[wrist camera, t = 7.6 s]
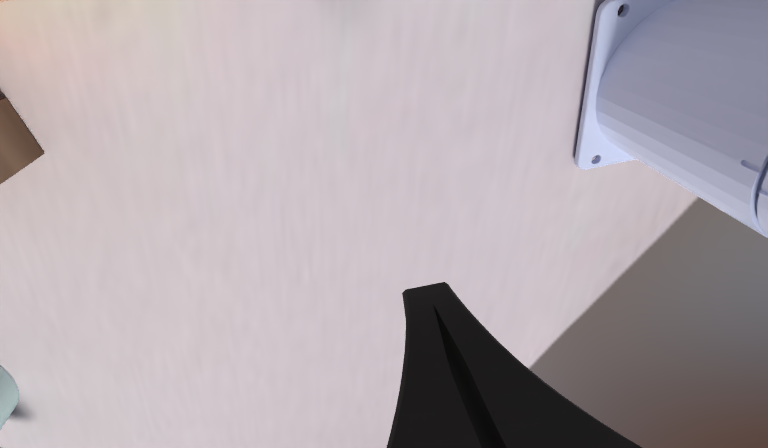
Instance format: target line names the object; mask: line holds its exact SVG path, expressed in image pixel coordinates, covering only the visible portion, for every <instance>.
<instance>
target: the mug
mask: <svg viewBox="0 0 768 448" xmlns="http://www.w3.org/2000/svg"><path fill="white" fill-rule="evenodd" d="M18 400H19V390H18V387H17V384H16V383H15V381H14V379H13V378H12V376H11V375H10V374H9V373H8V372H7V371H6V370H5V369H4V368H3V367H1V366H0V429H1V428H2V426H3V425H4V423H5V422H6V420H7V419H8V418H9V416H10V415H11V413H12V412H13V410H14V409H15V407H16V405H17V403H18ZM0 448H1V447H0Z"/></svg>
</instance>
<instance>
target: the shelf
mask: <svg viewBox="0 0 768 448" xmlns="http://www.w3.org/2000/svg"><path fill="white" fill-rule="evenodd" d="M43 154H44V152H43V150H42V149H41V147H40V146H39V145H38V143H37V142H36V140H35V139H34V137H33V136H32V134H31V133H30V132H29V130H28V129H27V127H26V126H25V124H24V123H23V121H22V120H21V119H20V117H19V116H18V114H17V113H16V111H15V110H14V108H13V107H12V106H11V104H10V103H9V101H8V100H7V98H3V99H0V184H1V183H3V182H4V181H6V180H7V179H9V178H10V177H11V176H13V175H14V174H16V173H17V172H19V171H20V170H21V169H23V168H24V167H26V166H27V165H29V164H30V163H31V162H33V161H34V160H36V159H37V158H39V157H40V156H41V155H43Z"/></svg>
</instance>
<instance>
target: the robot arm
mask: <svg viewBox="0 0 768 448" xmlns="http://www.w3.org/2000/svg"><path fill="white" fill-rule="evenodd" d="M621 5H623V11H622V13H621V14H620V15H619V16H618V9H619V7H620V6H621ZM596 155H597V156H596ZM594 156H596V158H595V159H594V160H593V161H591V160H592V158H593V157H594ZM634 159H637V160H639V161H640V162H642V163H644V164H645V165H647V166H649V167H650V168H652V169H654V170H655V171H657V172H659V173H660V174H662V175H664V176H665V177H667V178H669V179H670V180H672V181H674V182H675V183H677V184H679V185H680V186H682V187H684V188H685V189H687V190H689V191H690V192H692V193H694V194H695V195H697V196H699V197H700V198H702V199H704V200H705V201H707V202H709V203H710V204H712V205H714V206H715V207H717V208H719V209H720V210H722V211H724V212H725V213H727V214H729V215H730V216H732V217H734V218H735V219H737V220H739V221H740V222H742V223H744V224H745V225H747V226H749V227H750V228H752V229H754V230H755V231H757V232H759V233H760V234H762V235H764V236H765V237H767V238H768V0H605V1H604V2H603V3H602V4H601V5H600V6H599V8H598V10H597V13H596V19H595V26H594V32H593V39H592V46H591V53H590V59H589V66H588V73H587V80H586V86H585V93H584V100H583V107H582V113H581V120H580V127H579V134H578V140H577V147H576V154H575V165H576V166H577V167H578V168H580V169H582V170H586V169H590V168H595V167H600V166H605V165H610V164H615V163H620V162H625V161H630V160H634ZM402 294H403V301H404V308H405V316H406V340H405V354H404V363H403V371H402V379H401V385H400V391H399V396H398V402H397V407H396V412H395V416H394V420H393V425H392V429H391V433H390V437H389V441H388V445H387V448H642V447H640V446H639V445H637V444H635V443H634V442H632V441H630V440H628V439H627V438H625V437H623V436H622V435H620V434H619V433H617V432H615V431H614V430H612V429H611V428H609V427H608V426H606V425H604V424H603V423H601V422H600V421H598V420H597V419H595V418H594V417H592V416H591V415H589V414H588V413H587V412H585V411H584V410H582V409H581V408H579V407H578V406H576V405H575V404H573V403H572V402H571V401H569V400H568V399H566V398H565V397H564V396H562V395H561V394H559V393H558V392H557V391H556V390H554V389H553V388H552V387H550V386H549V385H548V384H546V383H545V382H544V381H543V380H541V379H540V378H539V377H538V376H536V375H535V374H534V373H532V371H530V370H529V369H528V368H527V367H526V366H524V365H523V364H522V363H521V362H520V361H519V360H518V359H516V358H515V357H514V356H513V355H512V354H511V353H510V352H509V351H508V350H507V349H506V348H505V347H503V346H502V345H501V344H500V343H499V342H498V341H497V340H496V339H495V338H494V337H493V336H492V335H491V334H490V333H489V332H488V331H487V330H486V329H485V328H484V326H483V325H482V324H481V323H480V322H479V321H478V320H477V319H476V318H475V317H474V316H473V315H472V314H471V312H470V311H469V310H468V309H467V308H466V307H465V305H464V304H463V303H462V302H461V301H460V299H459V298H458V297H457V296H456V294H455V293H454V292H453V290H452V289H451V288H450V286H449V285H448V284H447V283H445V282H442V283H437V284H432V285H427V286H422V287H417V288H412V289H407V290H405V291H404V292H403V293H402Z"/></svg>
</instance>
